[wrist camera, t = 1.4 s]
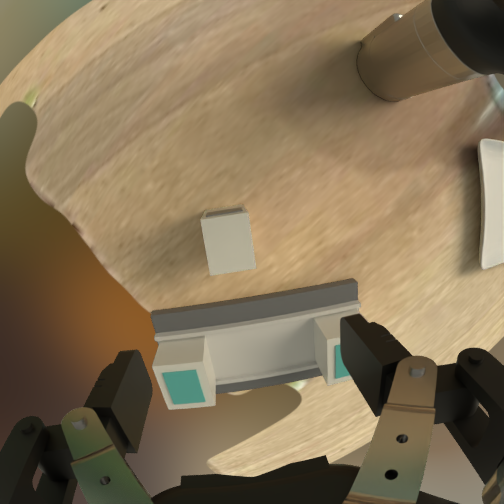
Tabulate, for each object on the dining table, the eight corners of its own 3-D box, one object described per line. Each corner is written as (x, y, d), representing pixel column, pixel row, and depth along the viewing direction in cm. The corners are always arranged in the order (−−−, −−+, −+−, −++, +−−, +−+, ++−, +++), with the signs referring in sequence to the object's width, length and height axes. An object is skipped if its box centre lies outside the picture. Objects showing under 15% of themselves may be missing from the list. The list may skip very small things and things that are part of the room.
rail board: (152, 310, 38) (138, 342, 31) (353, 278, 40) (380, 301, 32) (178, 391, 42) (172, 428, 34) (352, 361, 43) (373, 392, 36)
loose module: (205, 208, 36) (200, 218, 28) (242, 202, 36) (248, 210, 28) (212, 254, 37) (210, 275, 30) (249, 248, 37) (256, 268, 30)
